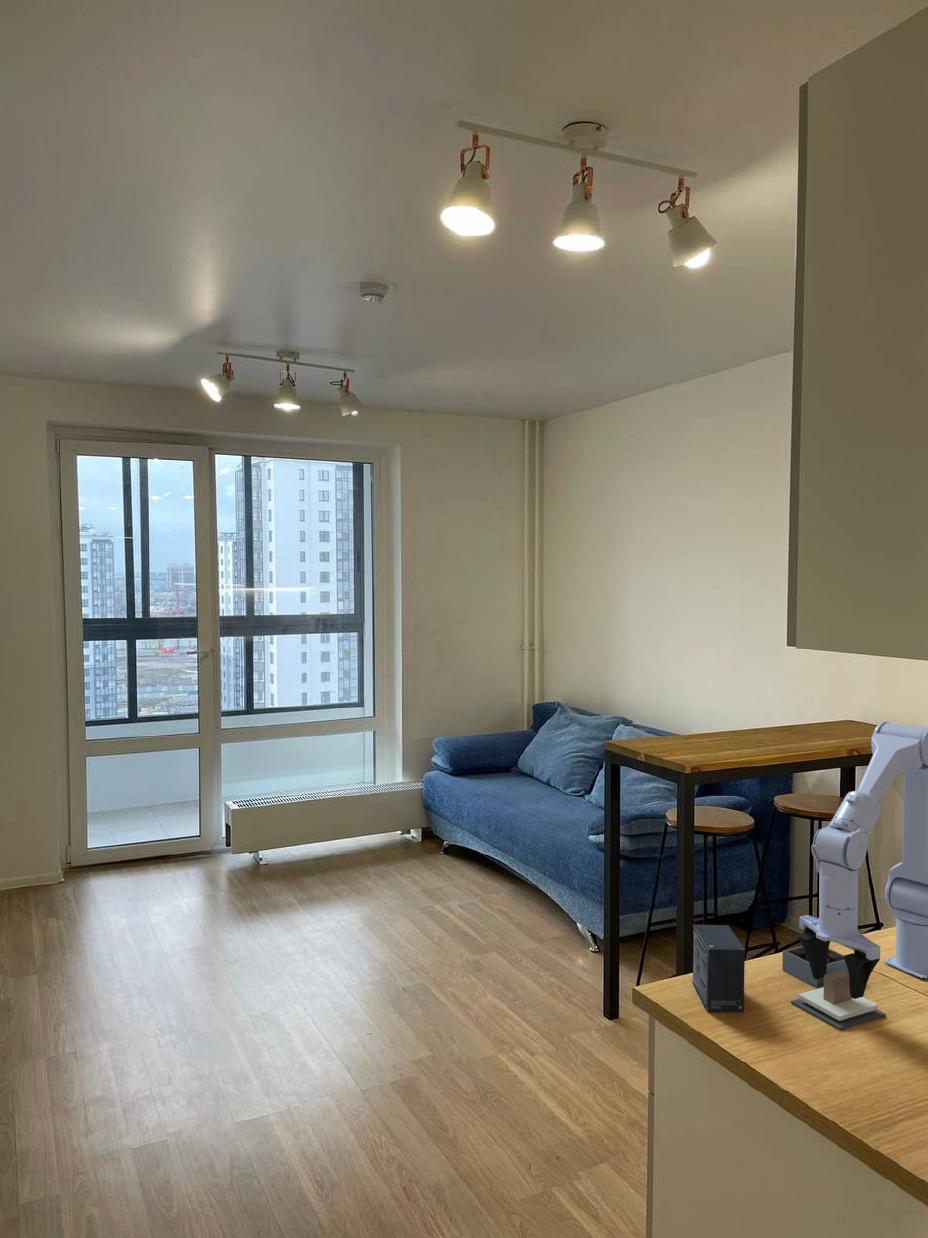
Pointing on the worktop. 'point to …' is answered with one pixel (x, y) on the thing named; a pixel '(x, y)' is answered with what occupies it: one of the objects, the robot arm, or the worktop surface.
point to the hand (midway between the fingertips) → (837, 986)
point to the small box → (718, 968)
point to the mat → (834, 1022)
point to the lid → (837, 998)
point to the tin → (800, 966)
